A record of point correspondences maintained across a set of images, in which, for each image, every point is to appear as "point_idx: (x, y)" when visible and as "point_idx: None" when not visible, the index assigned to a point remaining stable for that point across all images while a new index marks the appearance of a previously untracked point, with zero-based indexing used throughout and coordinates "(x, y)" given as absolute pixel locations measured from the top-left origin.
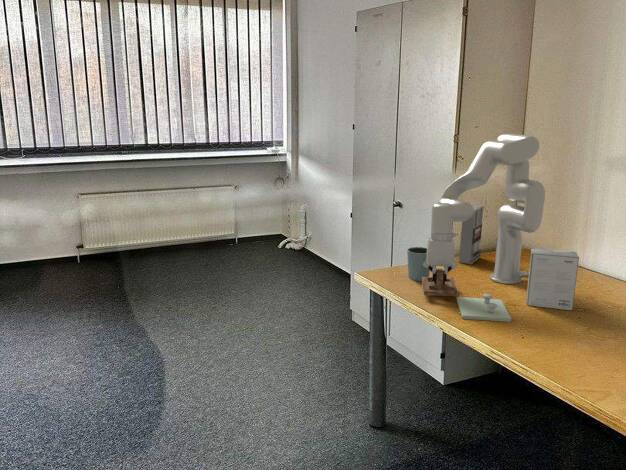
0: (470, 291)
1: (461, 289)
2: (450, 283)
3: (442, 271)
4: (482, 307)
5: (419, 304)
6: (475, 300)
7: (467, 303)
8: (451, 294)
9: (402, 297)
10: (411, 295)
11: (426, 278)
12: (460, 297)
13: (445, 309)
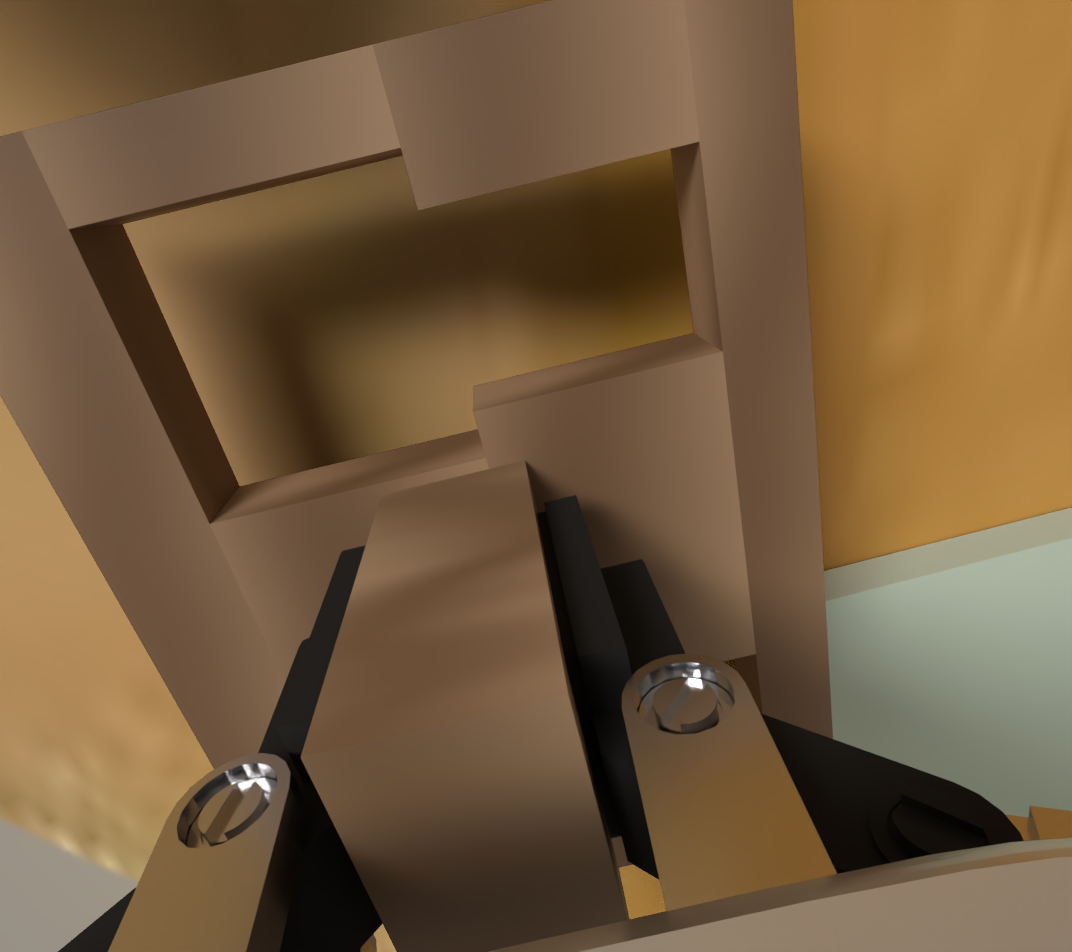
0: (1011, 72)
1: (856, 9)
2: (717, 465)
3: (600, 925)
4: (1055, 802)
5: None
6: (1020, 634)
7: None
8: None
9: (21, 800)
10: (100, 684)
11: (72, 301)
12: (827, 612)
13: (635, 896)
